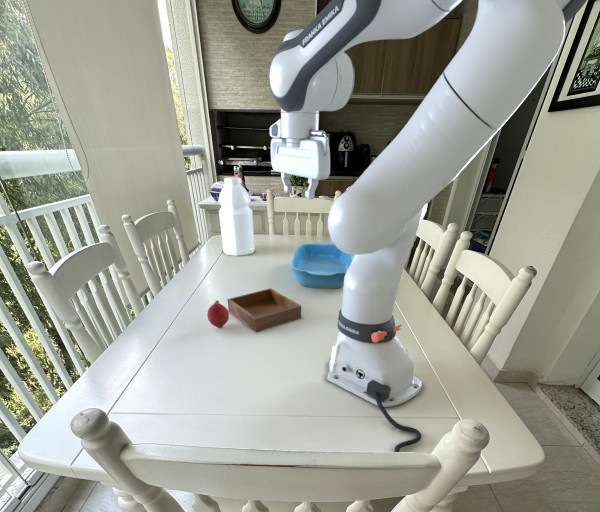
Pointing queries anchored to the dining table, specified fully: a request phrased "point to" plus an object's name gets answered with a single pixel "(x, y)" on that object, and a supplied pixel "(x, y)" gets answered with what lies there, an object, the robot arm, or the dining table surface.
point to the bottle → (236, 218)
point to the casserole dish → (320, 265)
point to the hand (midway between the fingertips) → (298, 195)
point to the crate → (264, 309)
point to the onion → (218, 314)
